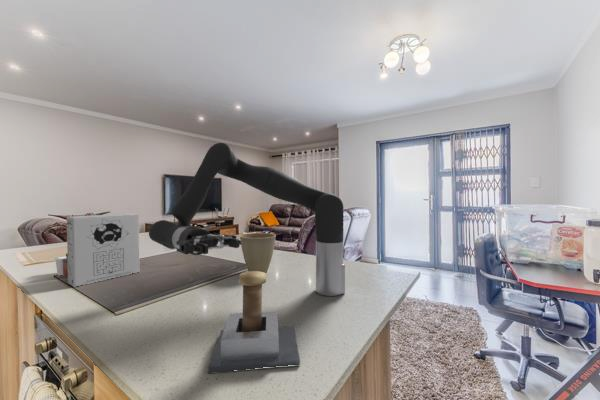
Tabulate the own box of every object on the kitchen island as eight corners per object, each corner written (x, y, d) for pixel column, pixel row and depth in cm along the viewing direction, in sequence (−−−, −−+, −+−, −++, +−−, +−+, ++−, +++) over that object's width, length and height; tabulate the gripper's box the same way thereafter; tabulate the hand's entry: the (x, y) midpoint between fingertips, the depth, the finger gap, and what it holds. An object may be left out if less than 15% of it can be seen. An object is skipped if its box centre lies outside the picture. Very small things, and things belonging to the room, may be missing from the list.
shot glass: (58, 277, 104) (58, 259, 104) (52, 274, 107) (52, 257, 107) (80, 272, 110) (79, 256, 109) (74, 270, 113) (73, 254, 113)
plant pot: (275, 278, 102) (275, 237, 102) (237, 279, 101) (237, 238, 101) (276, 267, 117) (276, 232, 117) (243, 268, 116) (242, 232, 116)
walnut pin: (264, 334, 59) (265, 270, 59) (264, 348, 53) (265, 278, 53) (239, 336, 58) (240, 271, 58) (236, 350, 52) (238, 278, 52)
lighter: (67, 278, 102) (66, 253, 102) (60, 278, 102) (59, 253, 102) (87, 272, 110) (87, 249, 110) (81, 272, 110) (80, 248, 110)
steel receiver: (293, 330, 62) (293, 309, 62) (299, 366, 50) (299, 339, 49) (221, 335, 60) (221, 313, 60) (208, 373, 48) (208, 345, 47)
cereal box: (132, 269, 114) (131, 213, 113) (139, 272, 110) (139, 213, 109) (67, 283, 96) (66, 216, 96) (74, 287, 92) (72, 217, 91)
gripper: (164, 229, 68) (194, 234, 57) (214, 224, 78) (247, 227, 68) (165, 257, 68) (195, 268, 57) (214, 248, 78) (247, 256, 68)
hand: (223, 246), depth 62 cm, fingers open, 8 cm apart
